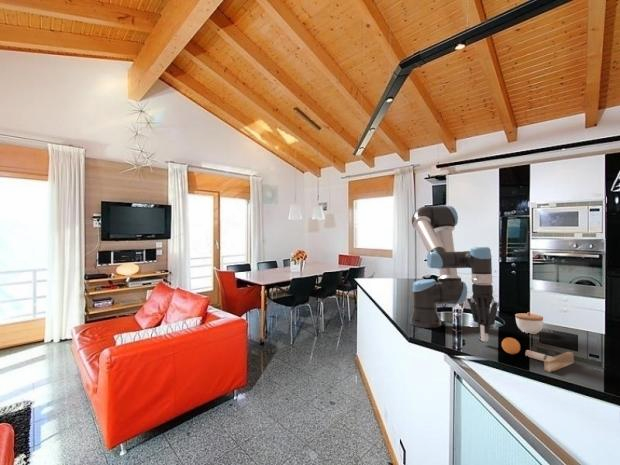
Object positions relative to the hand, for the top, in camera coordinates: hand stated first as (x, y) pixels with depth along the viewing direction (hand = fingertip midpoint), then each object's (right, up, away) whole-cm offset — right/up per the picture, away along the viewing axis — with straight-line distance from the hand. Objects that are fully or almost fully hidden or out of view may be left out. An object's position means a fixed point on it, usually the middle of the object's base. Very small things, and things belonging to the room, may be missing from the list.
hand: (484, 340), depth 125 cm
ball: (+4, +2, -10) cm, 11 cm away
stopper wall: (+12, -1, -23) cm, 26 cm away
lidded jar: (+31, -2, +17) cm, 35 cm away
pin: (+8, 0, -13) cm, 15 cm away
